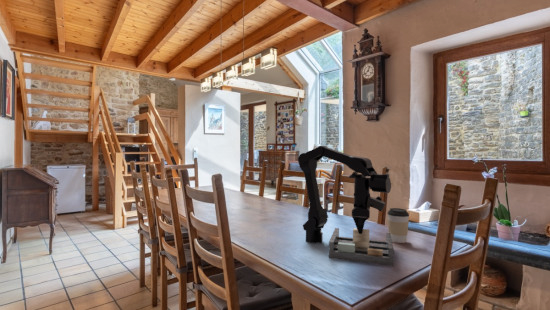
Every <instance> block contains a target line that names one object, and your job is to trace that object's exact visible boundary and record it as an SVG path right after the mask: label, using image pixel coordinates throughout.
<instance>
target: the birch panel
mask: <svg viewBox="0 0 550 310" xmlns="http://www.w3.org/2000/svg"><path fill="white" fill-rule="evenodd" d="M352 238H353V244H355V247H362V248H369V240H370V229H369V228H368V229H367V228H363V232H362V234H359V232H358V230H357V227H354V228H353V229H352Z"/></svg>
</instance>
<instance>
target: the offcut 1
mask: <svg viewBox="0 0 550 310" xmlns="http://www.w3.org/2000/svg"><path fill="white" fill-rule="evenodd" d="M338 251H343V252H352V253H355V244H351V243H342V242H338Z"/></svg>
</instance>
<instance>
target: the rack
mask: <svg viewBox="0 0 550 310" xmlns="http://www.w3.org/2000/svg"><path fill="white" fill-rule="evenodd" d="M338 242H342V243H351V244H353V237H347V236H340V228H338V227H337V228H336V227H335V228H334V230H333V232H332V235H331V237H330V239H329V241H328V259H333V260H342V261H349V262H356V263H357V262H359V263H365V264H373V265H381V266H388V267H394V252H395V251H394V248H395V247H394V244H393V241H392V239H391V235H390V233H389V232H385V240H377V239H369V248H373V249H382V251H383V252H382V256H378V255H369V254H368V248H362V247H355V253H352V252H343V251H338Z"/></svg>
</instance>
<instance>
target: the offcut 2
mask: <svg viewBox="0 0 550 310" xmlns="http://www.w3.org/2000/svg"><path fill="white" fill-rule="evenodd" d="M382 252H383V251H382V249H373V248H368V254H369V255H378V256H382Z"/></svg>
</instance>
